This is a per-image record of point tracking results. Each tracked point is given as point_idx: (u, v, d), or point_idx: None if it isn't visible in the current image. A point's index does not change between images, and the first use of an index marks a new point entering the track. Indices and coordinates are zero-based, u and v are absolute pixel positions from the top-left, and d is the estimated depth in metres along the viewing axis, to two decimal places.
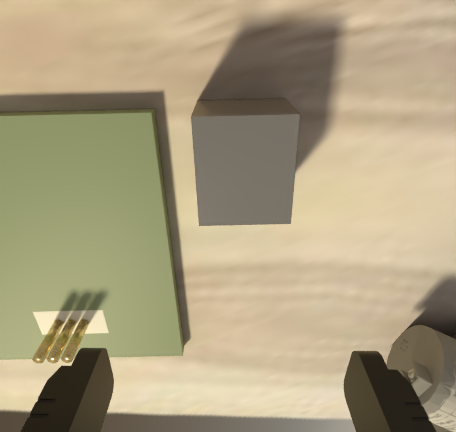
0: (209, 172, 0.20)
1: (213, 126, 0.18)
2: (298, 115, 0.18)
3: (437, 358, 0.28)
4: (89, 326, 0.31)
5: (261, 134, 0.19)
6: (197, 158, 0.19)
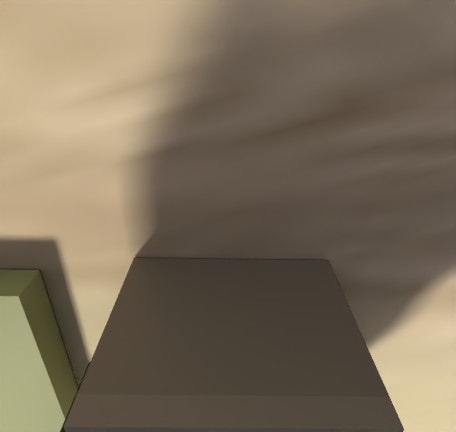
0: None
1: None
2: (398, 431, 0.06)
3: None
4: None
5: None
6: None
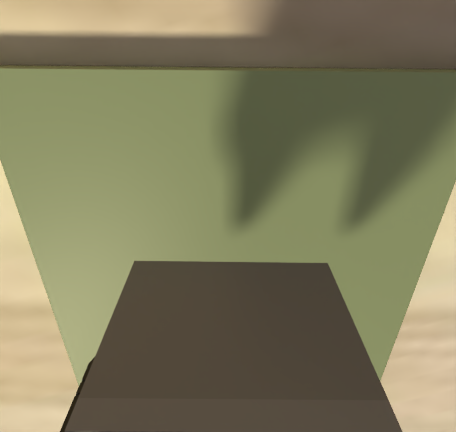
0: None
1: None
2: None
3: None
4: None
5: None
6: None
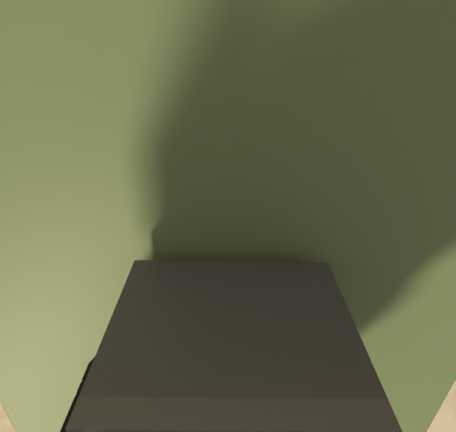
0: None
1: None
2: None
3: None
4: None
5: None
6: None
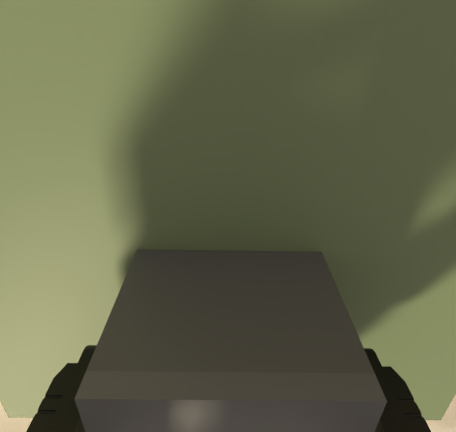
0: None
1: (141, 416, 0.07)
2: (382, 403, 0.06)
3: None
4: None
5: (274, 431, 0.07)
6: None
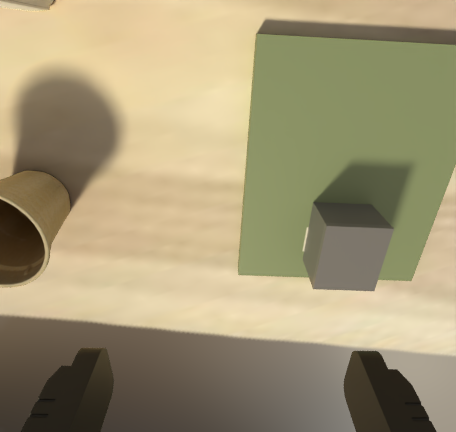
0: (329, 257, 0.30)
1: (339, 232, 0.29)
2: (393, 229, 0.29)
3: None
4: None
5: (367, 238, 0.29)
6: (324, 249, 0.30)
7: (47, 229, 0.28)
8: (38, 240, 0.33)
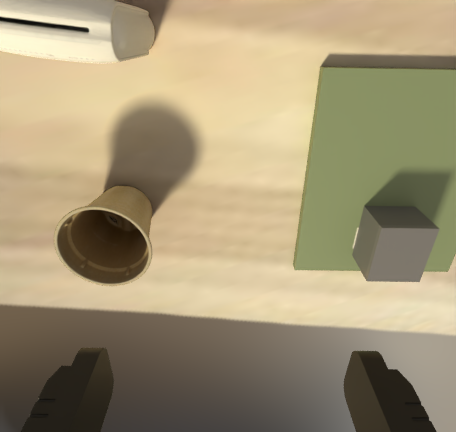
0: (382, 254, 0.35)
1: (392, 232, 0.34)
2: (438, 229, 0.34)
3: None
4: None
5: (416, 237, 0.34)
6: (378, 247, 0.35)
7: (148, 237, 0.33)
8: (128, 245, 0.39)
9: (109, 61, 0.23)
